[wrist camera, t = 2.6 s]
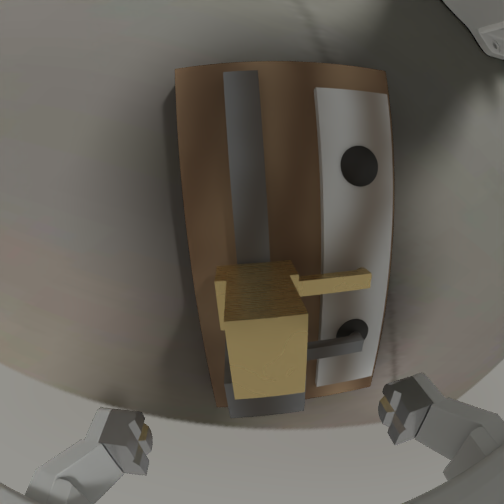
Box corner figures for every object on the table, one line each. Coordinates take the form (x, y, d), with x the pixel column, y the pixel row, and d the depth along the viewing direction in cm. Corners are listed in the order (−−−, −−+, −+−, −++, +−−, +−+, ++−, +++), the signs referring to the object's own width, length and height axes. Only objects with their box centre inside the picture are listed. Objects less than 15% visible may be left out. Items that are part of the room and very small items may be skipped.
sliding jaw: (369, 244, 17) (439, 292, 10) (364, 300, 19) (421, 365, 11) (216, 257, 17) (203, 322, 10) (223, 315, 18) (218, 400, 11)
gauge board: (373, 77, 17) (435, 46, 9) (362, 373, 25) (395, 431, 17) (180, 77, 16) (149, 29, 9) (217, 392, 24) (214, 461, 16)
